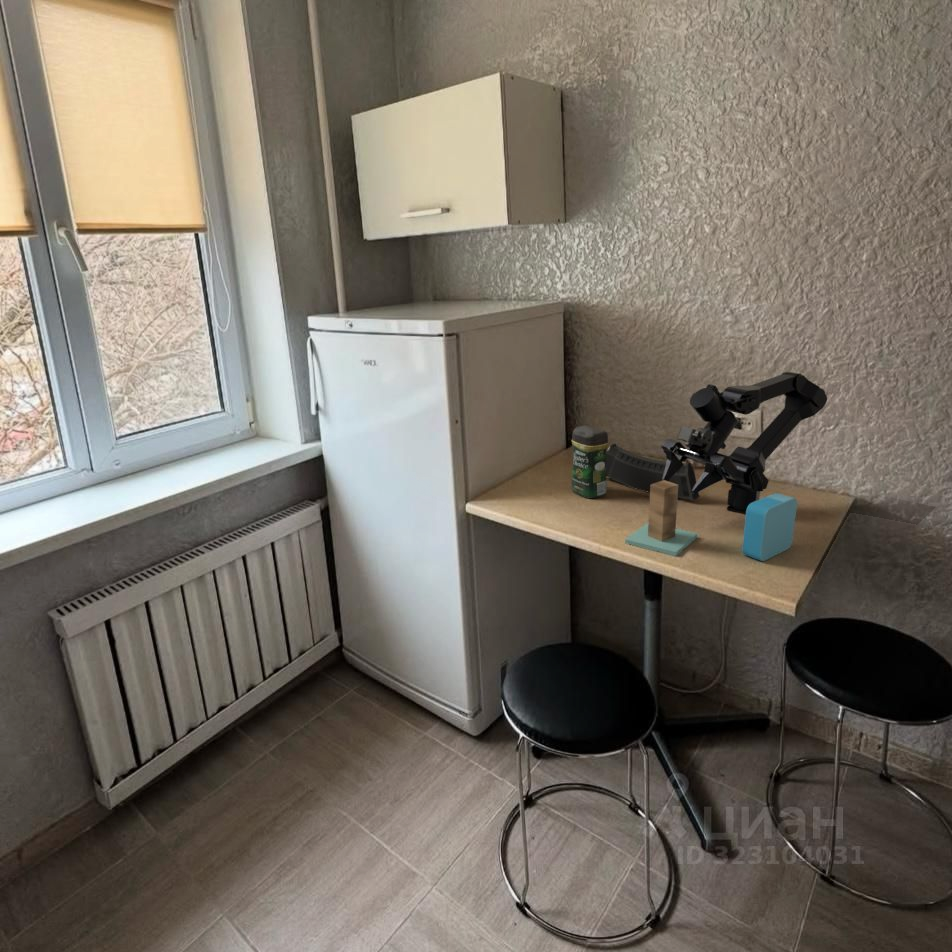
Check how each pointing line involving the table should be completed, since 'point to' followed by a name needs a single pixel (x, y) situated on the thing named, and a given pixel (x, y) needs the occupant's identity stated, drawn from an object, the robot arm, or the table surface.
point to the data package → (769, 526)
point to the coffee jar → (589, 462)
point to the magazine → (646, 472)
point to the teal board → (667, 546)
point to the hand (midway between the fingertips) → (677, 487)
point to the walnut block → (662, 510)
